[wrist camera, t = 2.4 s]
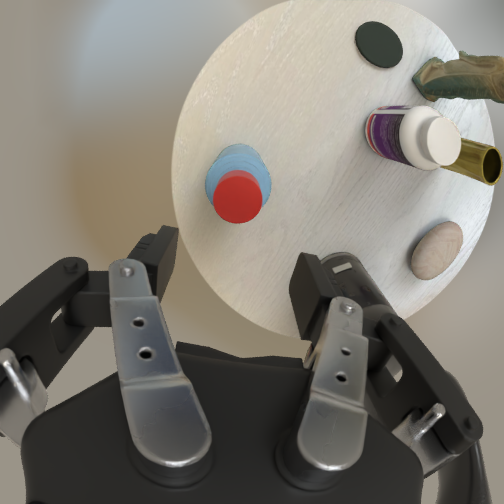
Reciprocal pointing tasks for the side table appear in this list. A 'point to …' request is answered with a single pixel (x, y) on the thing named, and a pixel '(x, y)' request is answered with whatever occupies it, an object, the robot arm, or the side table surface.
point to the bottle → (238, 160)
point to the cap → (237, 197)
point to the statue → (462, 78)
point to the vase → (478, 162)
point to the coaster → (379, 44)
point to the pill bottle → (413, 136)
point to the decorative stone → (436, 250)
